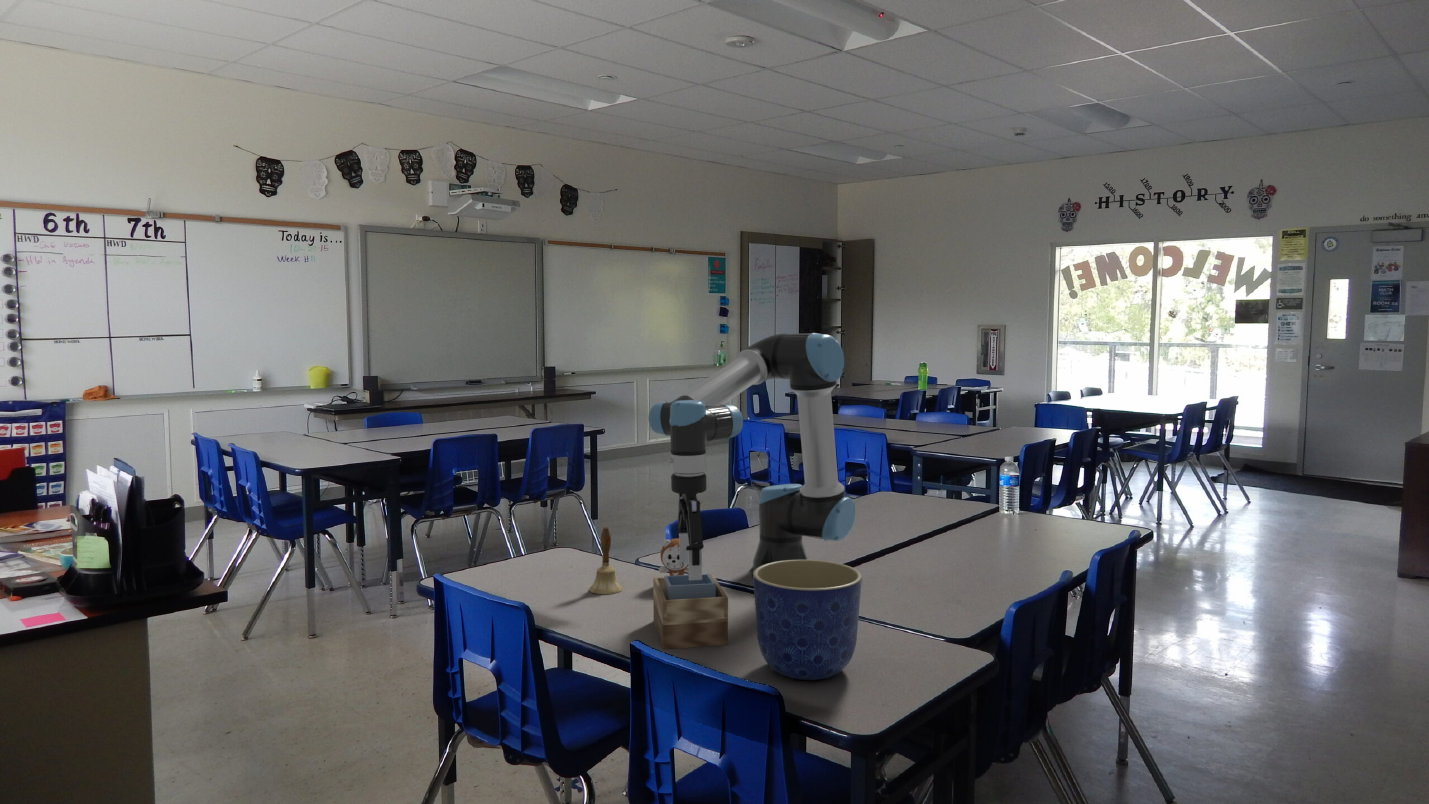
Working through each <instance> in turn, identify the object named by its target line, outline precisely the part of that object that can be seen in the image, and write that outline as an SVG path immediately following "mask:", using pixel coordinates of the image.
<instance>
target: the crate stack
mask: <svg viewBox="0 0 1429 804" xmlns="http://www.w3.org/2000/svg"><path fill="white" fill-rule="evenodd" d="M710 576H711V577H712V579H713V581H714V582H715V584H716V597H710V598H693V599H675V600H666V598H665V596H664V576H659V577H657V576H656V577H653V578H652V581H653V584H652V585H653V586H652V587H653V591H652V592H653V593H652V594H653V599H652V600H653V603H652V604H653V623H654V626H655V629H656V633H657V635H658V638H659V640H660V641H659V642H660V644H661V646H662V649H663V650H665V649H666V650H670V649H683V648H685V649H686V648H697V647H699V648H700V647H714V646H727V645H729V597H728V595H727V594H726V592H725V591H724V589H723V587H722V586H721V585H720V582H719V581H718V580H717V578H716V577H715V575H714V574H710Z"/></svg>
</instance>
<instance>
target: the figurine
mask: <svg viewBox="0 0 1429 804" xmlns="http://www.w3.org/2000/svg"><path fill="white" fill-rule="evenodd" d="M662 543H663V546H662V547H661V549H660V550H661V551H660V561H661V563H662V565H663V566H660V567H659V568H658V573H660V574H663V573H664V574H665V573H667V572H668V573H669V576H674V575H685V573H687V574H689V570H688V562H681V563H680V559H679V537H677V538H671V539H665V540H664V541H663V542H662Z"/></svg>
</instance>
